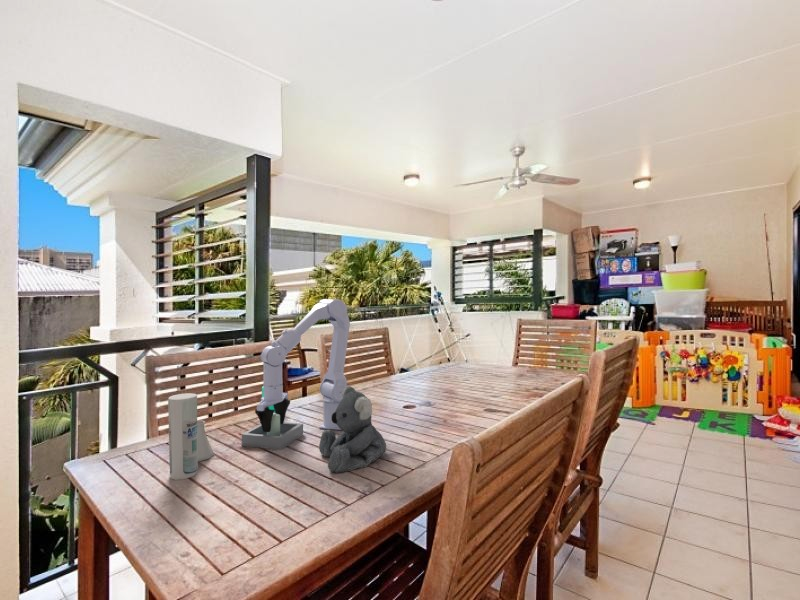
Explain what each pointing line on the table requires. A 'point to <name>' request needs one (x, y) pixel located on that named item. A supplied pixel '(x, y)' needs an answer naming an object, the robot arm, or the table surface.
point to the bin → (262, 440)
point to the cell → (275, 425)
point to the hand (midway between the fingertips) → (273, 427)
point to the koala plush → (352, 434)
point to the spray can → (183, 435)
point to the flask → (203, 443)
